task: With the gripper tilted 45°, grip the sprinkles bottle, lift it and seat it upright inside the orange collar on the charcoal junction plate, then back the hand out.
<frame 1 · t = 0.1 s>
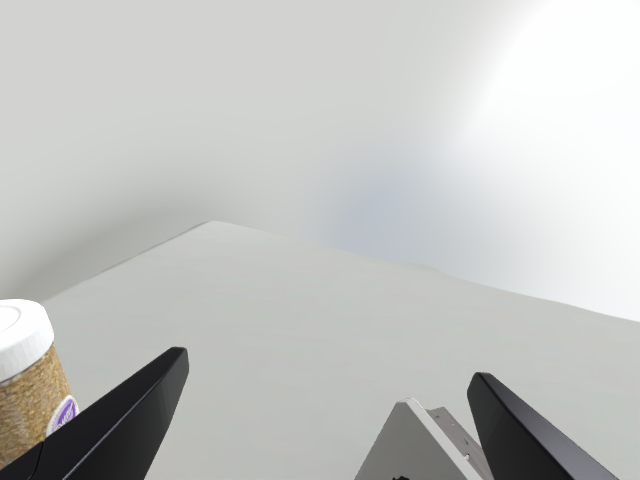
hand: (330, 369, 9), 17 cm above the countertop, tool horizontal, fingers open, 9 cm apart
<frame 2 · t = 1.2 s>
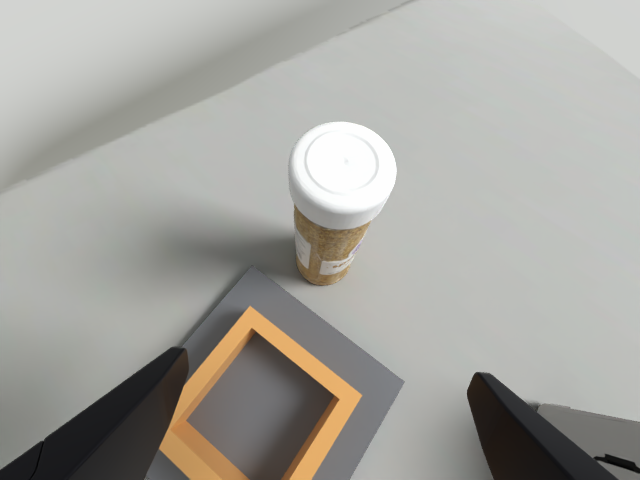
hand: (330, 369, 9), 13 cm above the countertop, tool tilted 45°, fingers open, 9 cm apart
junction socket: (264, 404, 21), on the countertop
sprinkles bottle: (322, 259, 25), on the countertop
electrical switch: (576, 478, 20), on the countertop
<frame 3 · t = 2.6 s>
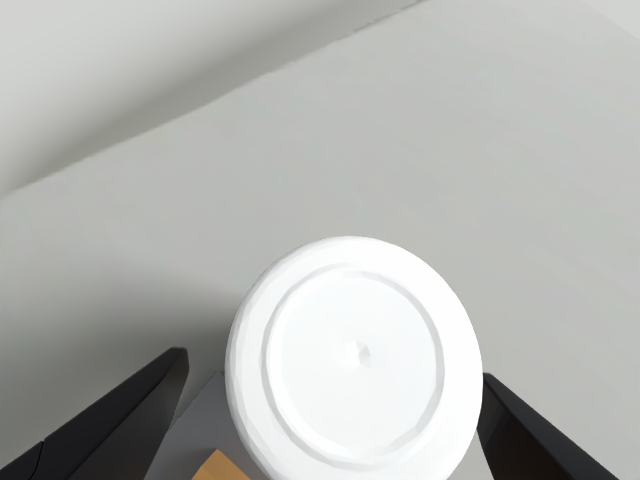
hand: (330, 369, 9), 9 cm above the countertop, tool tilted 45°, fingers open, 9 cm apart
sprinkles bottle: (318, 355, 18), on the countertop
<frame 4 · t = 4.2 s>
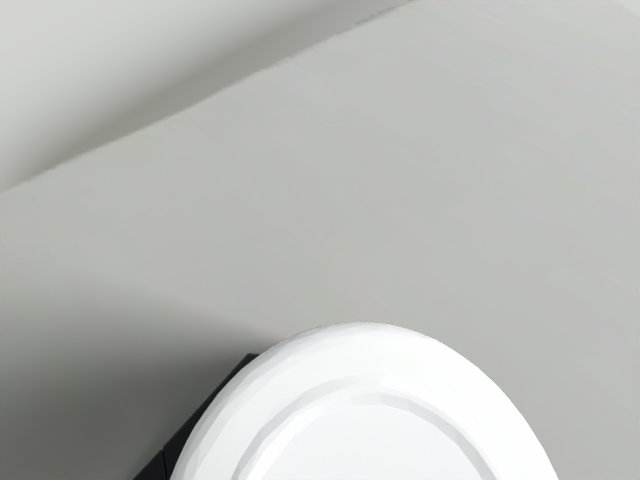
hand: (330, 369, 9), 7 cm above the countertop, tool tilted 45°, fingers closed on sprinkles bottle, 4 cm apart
sprinkles bottle: (316, 390, 16), on the countertop, touching gripper
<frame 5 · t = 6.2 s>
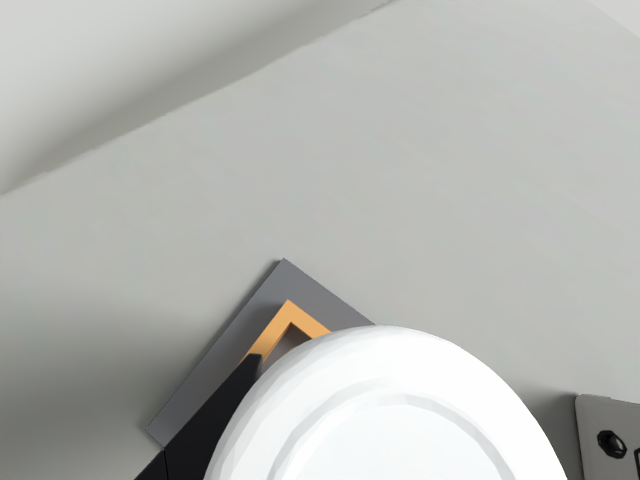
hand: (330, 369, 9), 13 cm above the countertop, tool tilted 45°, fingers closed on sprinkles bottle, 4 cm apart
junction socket: (301, 398, 20), on the countertop
sprinkles bottle: (307, 388, 16), point 5 cm above the countertop, touching gripper
electrical switch: (615, 467, 20), on the countertop
when the fingers open (9 cm above the countertop, at t = 8.0 s): sprinkles bottle drops 1 cm, resting on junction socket.
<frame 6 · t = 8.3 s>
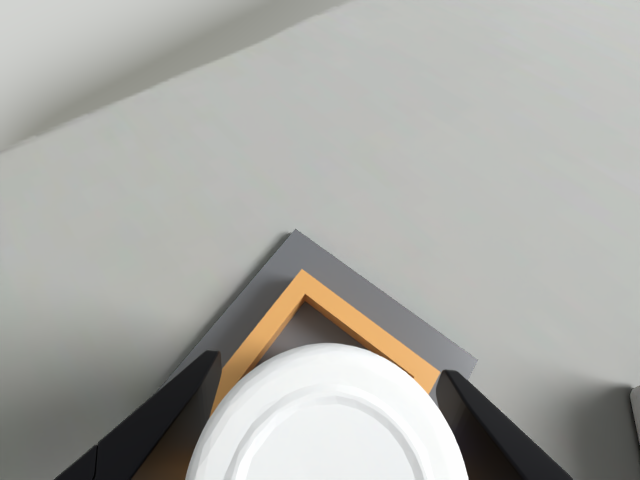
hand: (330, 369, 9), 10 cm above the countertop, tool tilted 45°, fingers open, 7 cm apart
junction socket: (315, 386, 18), on the countertop
sprinkles bottle: (310, 391, 17), point 1 cm above the countertop, touching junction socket
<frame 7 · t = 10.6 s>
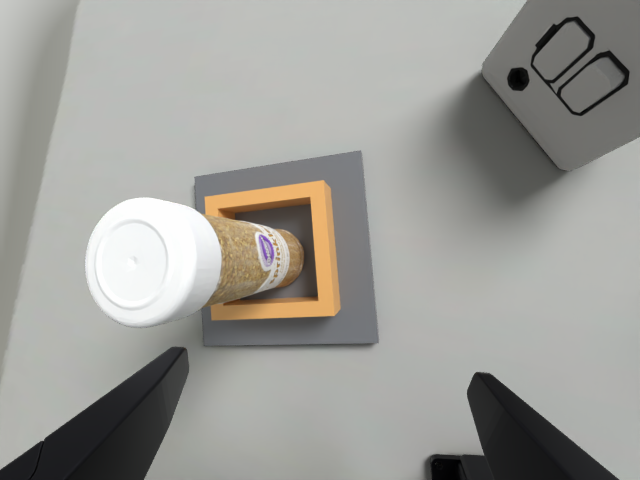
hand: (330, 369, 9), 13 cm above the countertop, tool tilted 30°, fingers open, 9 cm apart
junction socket: (282, 252, 24), on the countertop
sprinkles bottle: (278, 257, 23), point 1 cm above the countertop, touching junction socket
electrical switch: (550, 96, 20), on the countertop
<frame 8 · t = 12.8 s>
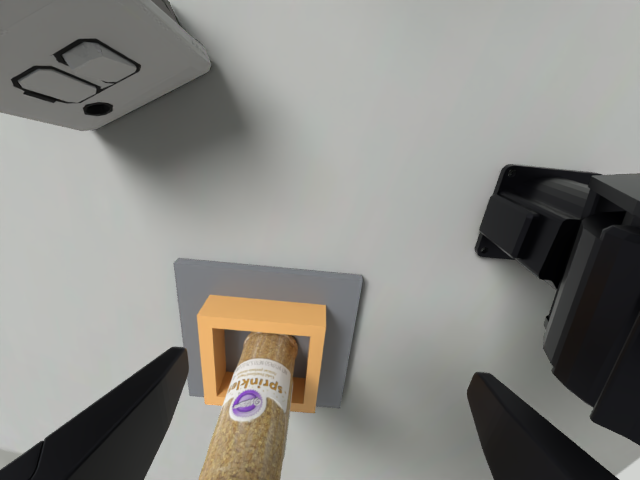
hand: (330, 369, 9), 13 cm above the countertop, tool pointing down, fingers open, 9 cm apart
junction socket: (268, 337, 26), on the countertop
sprinkles bottle: (271, 344, 25), point 1 cm above the countertop, touching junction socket
electrical switch: (124, 57, 17), on the countertop
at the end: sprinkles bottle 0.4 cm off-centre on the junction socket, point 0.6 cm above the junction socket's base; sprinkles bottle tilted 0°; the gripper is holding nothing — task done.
